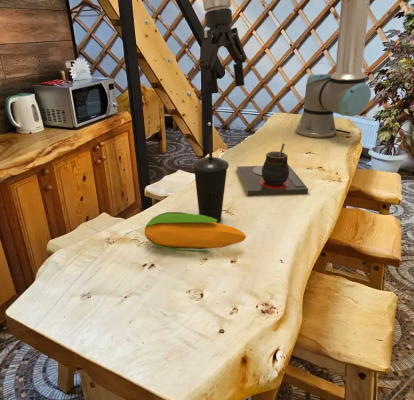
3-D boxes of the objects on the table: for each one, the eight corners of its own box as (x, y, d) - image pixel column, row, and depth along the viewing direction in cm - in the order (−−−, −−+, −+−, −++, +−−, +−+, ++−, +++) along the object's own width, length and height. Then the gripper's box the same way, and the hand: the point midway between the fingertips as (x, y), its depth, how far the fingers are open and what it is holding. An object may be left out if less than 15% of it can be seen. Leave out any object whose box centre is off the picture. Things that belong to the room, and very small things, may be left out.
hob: (288, 169, 113) (288, 164, 113) (307, 194, 97) (308, 188, 96) (236, 171, 112) (237, 165, 111) (247, 196, 96) (248, 190, 95)
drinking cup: (188, 215, 86) (186, 131, 77) (218, 209, 89) (219, 128, 80) (200, 231, 80) (200, 141, 71) (232, 224, 82) (236, 137, 74)
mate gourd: (257, 185, 98) (259, 149, 94) (265, 175, 104) (267, 141, 100) (284, 189, 96) (288, 152, 91) (290, 179, 102) (294, 144, 97)
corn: (148, 202, 75) (247, 207, 73) (151, 233, 78) (245, 239, 76) (138, 222, 68) (246, 229, 66) (142, 255, 72) (244, 262, 70)
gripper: (232, 12, 113) (240, 84, 120) (177, 13, 95) (191, 97, 103) (253, 7, 108) (260, 82, 116) (199, 7, 91) (212, 95, 98)
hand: (227, 89), depth 109 cm, fingers open, 13 cm apart
